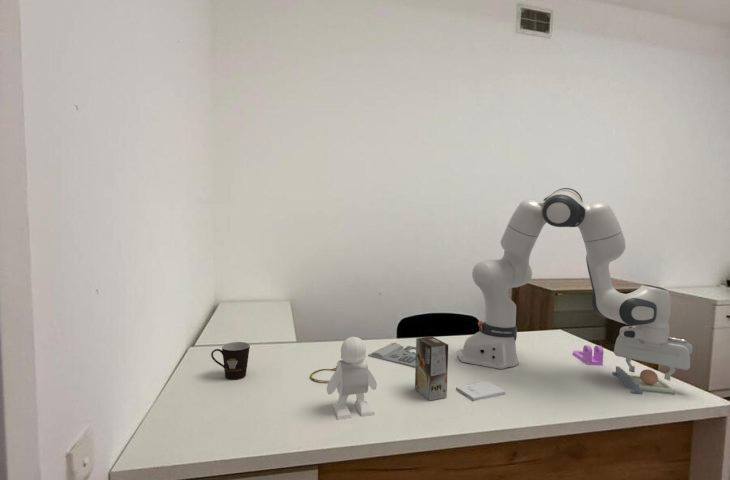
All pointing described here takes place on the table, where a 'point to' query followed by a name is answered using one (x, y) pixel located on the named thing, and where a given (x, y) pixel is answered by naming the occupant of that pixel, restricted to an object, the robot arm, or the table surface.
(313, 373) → the brown hoop
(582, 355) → the bracket
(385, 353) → the office telephone
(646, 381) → the ball
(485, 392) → the external hard drive
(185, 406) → the table surface
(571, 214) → the robot arm
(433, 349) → the coffee box
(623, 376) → the divider
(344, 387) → the toy robot
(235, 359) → the coffee mug
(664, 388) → the tray
